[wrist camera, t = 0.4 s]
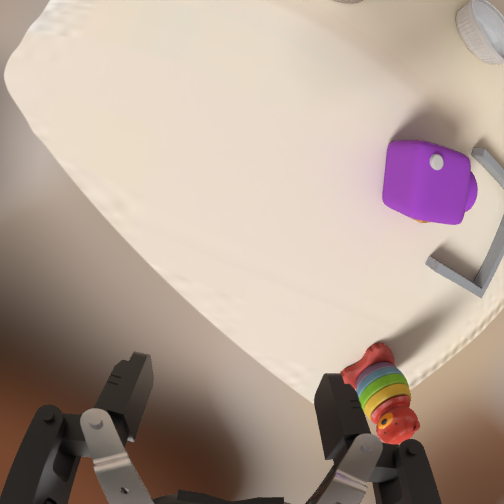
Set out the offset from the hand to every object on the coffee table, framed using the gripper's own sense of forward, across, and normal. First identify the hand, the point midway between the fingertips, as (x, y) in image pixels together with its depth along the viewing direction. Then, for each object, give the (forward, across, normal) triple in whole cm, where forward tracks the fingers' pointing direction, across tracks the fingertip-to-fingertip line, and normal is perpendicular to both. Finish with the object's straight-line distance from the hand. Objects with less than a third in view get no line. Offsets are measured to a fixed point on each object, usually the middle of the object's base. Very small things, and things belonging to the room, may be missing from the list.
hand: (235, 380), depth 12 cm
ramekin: (+28, -36, -42) cm, 62 cm away
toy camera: (+27, -24, -10) cm, 38 cm away
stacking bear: (+26, -27, +25) cm, 45 cm away
